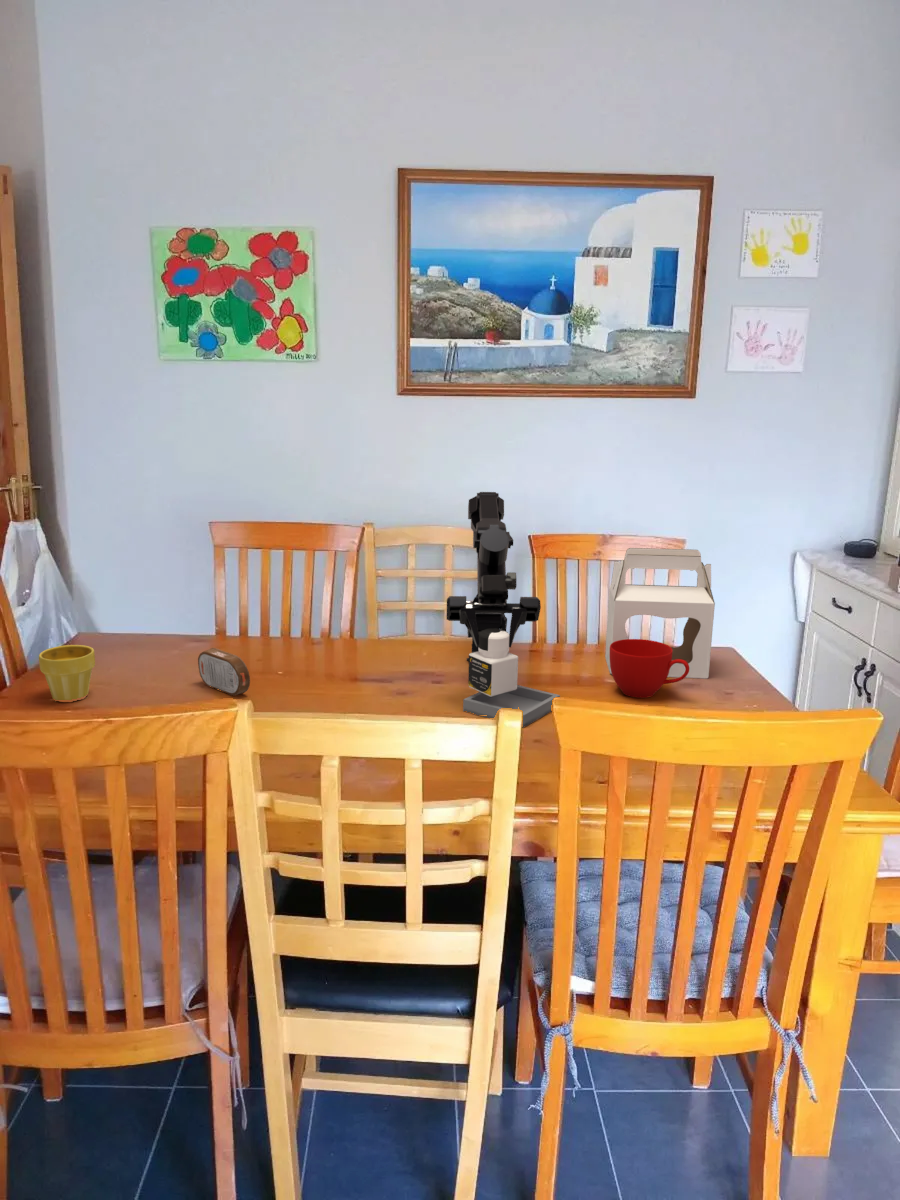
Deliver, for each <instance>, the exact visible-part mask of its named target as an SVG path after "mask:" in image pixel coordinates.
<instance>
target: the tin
mask: <svg viewBox="0 0 900 1200" xmlns="http://www.w3.org/2000/svg"><path fill="white" fill-rule="evenodd" d="M197 664H198V671H199V676H200V678H201V679H202V681H203V682H204V684H205V685H206V686H208V687H209V686H211V687H213V688H212V689H214V688H216V689H219V690H221V691H223V692H222V693H224V692H226V693H228V694H227V695H229V696H232V695H233V697H235V696H238V695H240V694H244V693H246V692H248V690H249V688H250V684H251V675H250V672H249V669H248V667H247V664H246V663H245V661H244V660H243V659H242V658H241V657H240V656H238V655H236V654H233V653H230V652H227V651H225V650H221V649H220V648H216V647H212V648H209V649H206V650H204V651H202V652H200V654H199V655H198V657H197ZM211 687H210V688H211ZM216 689H215V690H216ZM219 690H218V691H219ZM221 691H220V692H221ZM226 693H225V694H226Z"/></svg>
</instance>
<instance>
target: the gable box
mask: <svg viewBox="0 0 900 1200" xmlns="http://www.w3.org/2000/svg"><path fill="white" fill-rule="evenodd" d="M629 569H631V570H634V569H645V570H646V569H647V570H649V569H651V570H654V569H655V570H678V571H679V570H681V571H682V570H684V571H685V570H686V571H695V572H696V574H697V576H696V577H697V578H696V585H695V586H688V585H658V584H657V585H655V584H652V585H651V584H626V578H627V572H628V571H629ZM610 581H611V582H610V585H609V587H608V602H607V603H608V605H607V620H606V621H607V622H606V636H605V637H606V638H605V661H606V665H607V669H608V672H609V675H611V676H612V672H611V668H610V645H611V644H612V643H613V642H615V641H619V640H625V639H629V637H628V633H627V631H626V622H627V620H628V619H630V618H631V617H634V616H653V617H656V618H657V617H658V618H663V619H671V620H672V619H681V618H682V619H683V618H686V619H687V620H686V623H685V625H684V627H683V631H682V636H683V637H682V643H681V645H679V646H677V647H675V646H670V647H671V648H672V650H673V652H672V660H675V659H682V660H685V661H686V662H687V663H688V664H689V673H688V675H687V676H686V677H685V678H684V679H703V680H704V679H705V680H706V679H707V680H708V678H709V675H710V663H711V651H712V641H713V631H714V628H713V627H714V617H715V606H716V602H715V599H714V595H713V592H712V589H711V588H712V564H711V563H706V564H704V562H703V561H702V556H701V552H700V551H699V550H698V549H689V548H688V549H687V548H686V549H685V548H681V549H680V548H652V547H651V548H648V547H646V548H645V547H644V548H643V547H628V548H627V549H626V551H625V554H624V559H622V560H621V561H618V560H616V561H613V570H612V575H611V580H610ZM672 660H671V661H672ZM685 670H686V669H685V666H684V665H683V664H682V663H675V664H673V665H672V666H671V668H670V670H669V674H668V677H667V678H679V677H681V676H682V675H683V674H684V673H685Z"/></svg>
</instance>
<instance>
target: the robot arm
mask: <svg viewBox="0 0 900 1200" xmlns="http://www.w3.org/2000/svg"><path fill="white" fill-rule="evenodd" d="M499 495H500V494H499V492H496V491H479V492H476V495H475V496H473V497H472V498H469V499H468V504H467V505H468V506H467V507H468V508H467V519H468V520H470V528H471V529H470V530H471V531H472V548H473V549H475V552H476V554H477V558H476V559H477V565H476V566H477V568H476V569H477V577H476V578H477V579H476V580H477V582H476V583H477V594H476V596H475V597H474V598H473V600H472V601H471V600H469V601H468V600H467V596H465V595H463V596H461V595H460V596H458V595H454V596H453V595H449V596H448V597H447V598H446V620H447V621H450V622H459V624H461V625H464V626H465V627H466V628H467V631H466V632H467V633H466V634H467V638H471V641H472V642H471V653H473V652H478V646H479V633H480V632H481V631H482V630H485V629H490V628H497V629H502V630H504V631H506V632H507V625H508V618H507V616H506V614H511V619H510V627H509V648H512V646H513V642H514V639H515V636H516V633H517V631H518V630H519V628H520V626H522V625H525V624H526V622H530V623H531V622H532V623H533V622H537V621H539V617H540V613H541V608H542V607H541V605H542V604H541V599H540V598H539V597H538V596H520V598H519V603H511V602H509V603H508V600H509V590H511V591H514V590H516V589H517V572H511V571H510V572H509V571H508V572H506V571H507V569H506V565H507V564H506V562H507V559H508V553H509V552H508V550H509V549H511V547H513V546H514V539H513V538H514V537H512V536H511V534H510V531H507V526H506V523H505V522H503V521H501V520H504V517H505V500H504V499H503V498H502V497H500V496H499ZM466 661H467V662H469V657H467V658H466Z"/></svg>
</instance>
